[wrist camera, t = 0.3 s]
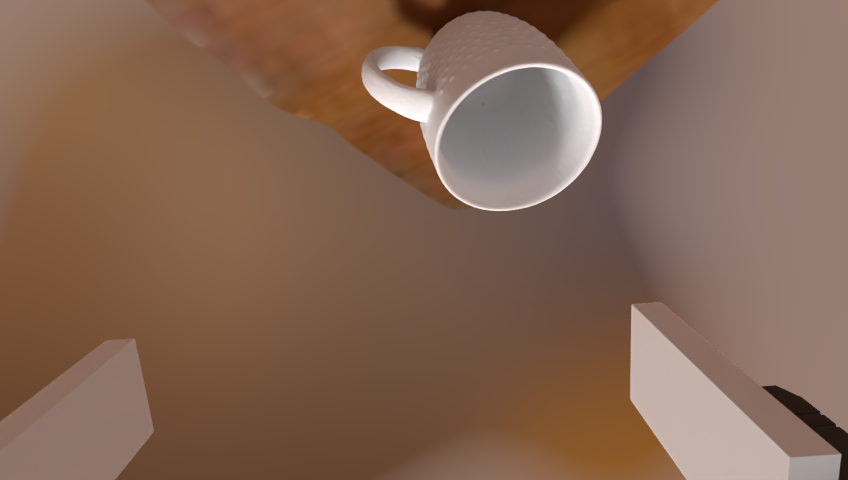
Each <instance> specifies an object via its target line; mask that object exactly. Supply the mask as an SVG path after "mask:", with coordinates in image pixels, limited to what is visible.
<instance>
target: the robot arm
mask: <svg viewBox="0 0 848 480" xmlns="http://www.w3.org/2000/svg"><path fill="white" fill-rule="evenodd" d="M631 319H632V320H631V379H630V399H631V401H632V402H633V404H634V405H635V407H636V408H637V409H638V411H639V412H640V414H641V415H642V417H643V418H644V420H645V421H646V422H647V424H648V425H649V427H650V428H651V430H652V431H653V432H654V434H655V435H656V437H657V438H658V440H659V441H660V442H661V444H662V445H663V447H664V448H665V450H666V451H667V452H668V454H669V455H670V457H671V458H672V459H673V461H674V462H675V464H676V465H677V467H678V468H679V470H680V471H681V472H682V474H683V475H684V477H685V478H686V479H687V480H848V433H846V432H845V431H844V430H843V429H841V428H840V427H836V424H835V423H834V422H832V421H831V420H830V419H829V418H827V417H826V416H825V415H821V414H820V411H818V410H817V409H816V408H814V407H813V406H812V405H811V404H809V403H808V402H807V401H806V400H804V399H803V398H802V397H800V396H797V395H795V394H793V393H791V392H789V391H786V390H784V389H782V388H780V387H778V386H762V387H761V386H760V385H759V384H757V383H756V382H755V381H754V380H753V379H752V378H750V377H749V376H748V375H747V374H746V373H745V372H743V371H742V370H741V369H740V368H739V367H737V366H736V365H735V364H734V363H733V362H731V361H730V360H729V359H728V358H727V357H726V356H724V355H723V354H722V353H721V352H720V351H718V350H717V349H716V348H715V347H714V346H712V345H711V344H710V343H709V342H708V341H706V340H705V339H704V338H703V337H702V336H701V335H699V334H698V333H697V332H696V331H695V330H693V329H692V328H691V327H690V326H689V325H687V324H686V323H685V322H684V321H683V320H682V319H680V318H679V317H678V316H677V315H676V314H674V313H673V312H672V311H671V310H670V309H668V308H667V307H666V306H665V305H664V304H663V303H661V302H656V303H641V304H632V317H631ZM153 432H154V430H153V425H152V420H151V415H150V410H149V405H148V401H147V396H146V391H145V386H144V381H143V376H142V371H141V366H140V362H139V357H138V352H137V347H136V342H135V339H122V340H108V341H105V342H104V343H102V344H101V345H100V346H98V347H97V348H96V349H95V350H93V351H92V352H91V353H89V354H88V355H87V356H85V357H84V358H83V359H81V360H80V361H79V362H78V363H76V364H75V365H74V366H72V367H71V368H70V369H69V370H67V371H66V372H65V373H63V374H62V375H61V376H60V377H58V378H57V379H55V380H54V381H53V382H52V383H50V384H49V385H48V386H46V387H45V388H44V389H43V390H41V391H40V392H39V393H37V394H36V395H35V396H33V397H32V398H31V399H30V400H28V401H27V402H26V403H24V404H23V405H22V406H20V407H19V408H18V409H17V410H15V411H14V412H12V413H11V414H10V415H9V416H7V417H6V418H5V419H3V420H2V421H1V422H0V480H115V479H116V478H117V477H118V475H119V474H120V473H121V472H122V470H123V469H124V468H125V467H126V465H127V464H128V463H129V462H130V460H131V459H132V458H133V457H134V455H135V454H136V453H137V452H138V450H139V449H140V448H141V447H142V445H143V444H144V443H145V442H146V440H147V439H148V438H149V437H150V435H151V434H152V433H153Z"/></svg>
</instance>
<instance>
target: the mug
mask: <svg viewBox="0 0 848 480" xmlns="http://www.w3.org/2000/svg"><path fill="white" fill-rule="evenodd" d="M384 69H405V70H412V71H417V72H418V73H417V82H416V87H417V88H416V87H411V86H407V85H404V84H401V83H399V82H397V81H395V80H393V79H391V78H390V77H388V76H387V75H386V74H385V73H383V72H382V71H381V70H384ZM362 80H363V83H364V85H365V87H366V89H367V90H368V92H369V93H370V94H371V95H372V96H373V97H374V98H375V99H376V100H377V101H379V102H380V103H381V104H383V105H384V106H386V107H388V108H389V109H391V110H393V111H395V112H397V113H399V114H401V115H403V116H405V117H407V118H410V119H413V120H416V121H420V126H421V128H422V131H423V137H424V139H425V141H426V144H427V148H428V150H429V153H430V156H431V159H432V160H433V163H434V165H435V168H436V170H437V173H438V175H439V177H440V179H441V181H442V183H443V184H444V185H445V187H446V188H447V189H448V190H449V192H450V193H451V194H453V195H454V196H455V197H456V198H458V199H459V200H461V201H462V202H464V203H466V204H468V205H471V206H473V207H476V208H480V209H485V210H493V211H506V210H515V209H521V208H526V207H529V206H532V205H536V204H538V203H540V202H542V201H545V200H547V199H549V198H551V197H552V196H554V195H556V194H557V193H559V192H560V191H562V190H563V189H564V188H565V187H566V186H568V185H569V184H570V183H571V182H572V181H574V179H575V178H576V177H577V176H578V175H579V174H580V173H581V172H582V170H583V169H584V168H585V167H586V165H587V164H588V162H589V161H590V159H591V157H592V155H593V153H594V151H595V149H596V146H597V144H598V141H599V137H600V132H601V127H602V112H601V106H600V102H599V99H598V97H597V94H596V92H595V91H594V89H593V87H592V85H591V84H590V83H589V82H588V80H587V79H586V78H585V77H584V76H583V75H582V73H581V72H580V71H579V69H578V68H577V67H575V66H574V65H573V63H572V61H571V60H570V59H569V58H568V57H566V55H565V54H564V53H563V51H562V49H560V48H558V47H557V46H556V45H555V43H554V42H553V41H552V40H550V39H548V38H547V37H546V35H545V34H544V33H541V32H540V31H538V30H537V29H536V27H534V26H531V25H529V24H528V23H527V22H525V21H521V20H520V19H518V18H517V17H512V16H510V15H508V14H502V13H500V12H492V11H476V12H472V13H466V14H464V15H462V16H459V17H457V18H455V19H454V20H452V21H450V22H448V23H447V24H446V25H445V26H444V27H442V28H441V29H440V30H439V31H438V32H437V33H436V35H435V36H434V37H433V38H432V39H431V41H430V43H429V44H428V45H427V47H426V48H417V47H406V46H385V47H379V48H376V49H374V50H372V51H371V52H369V53H368V55H367V56H366V58H365V60H364V63H363V66H362Z"/></svg>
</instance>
